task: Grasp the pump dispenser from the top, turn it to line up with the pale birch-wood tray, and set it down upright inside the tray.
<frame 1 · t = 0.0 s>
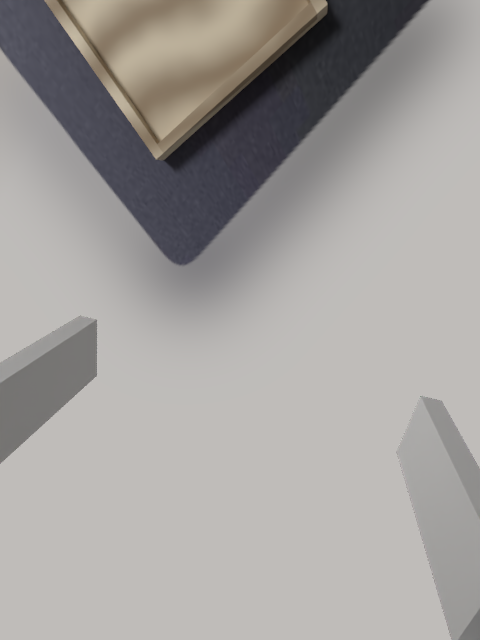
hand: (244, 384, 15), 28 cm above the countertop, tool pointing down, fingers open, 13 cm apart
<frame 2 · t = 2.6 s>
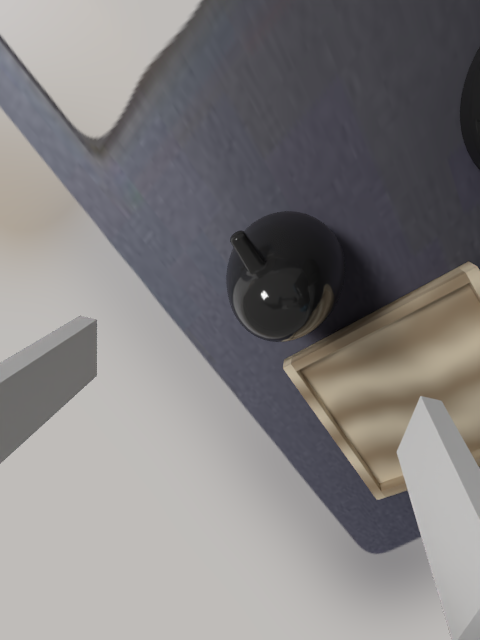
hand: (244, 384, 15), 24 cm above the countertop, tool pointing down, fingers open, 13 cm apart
birch tray: (414, 390, 39), on the countertop
pump dispenser: (288, 259, 36), on the countertop
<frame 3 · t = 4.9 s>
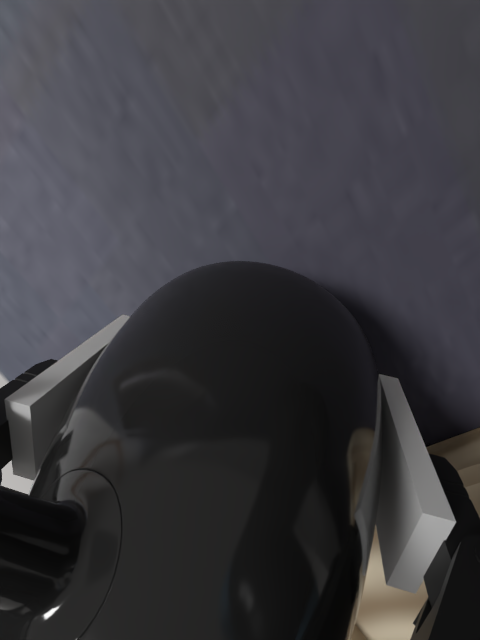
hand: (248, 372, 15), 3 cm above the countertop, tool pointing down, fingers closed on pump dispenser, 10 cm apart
pump dispenser: (257, 342, 18), on the countertop, touching gripper
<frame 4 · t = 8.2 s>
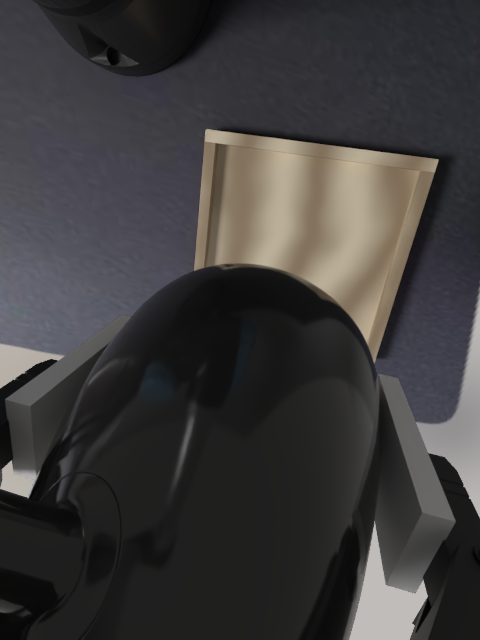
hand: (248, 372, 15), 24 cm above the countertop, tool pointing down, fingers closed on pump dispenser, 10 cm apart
birch tray: (296, 253, 37), on the countertop
pump dispenser: (256, 344, 18), point 21 cm above the countertop, touching gripper
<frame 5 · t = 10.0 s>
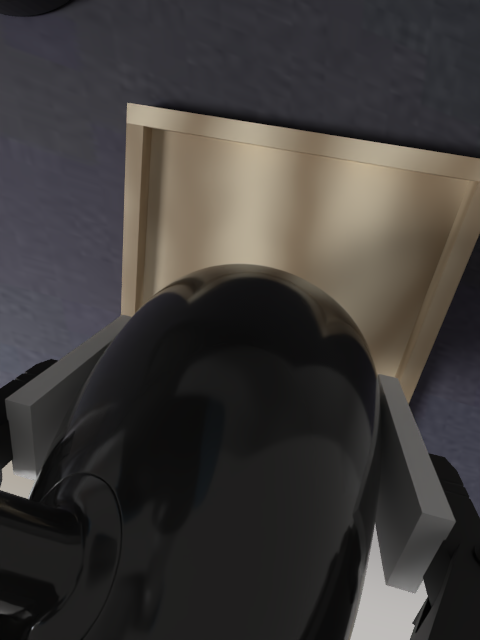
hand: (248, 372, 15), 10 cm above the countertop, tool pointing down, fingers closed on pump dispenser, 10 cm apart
birch tray: (273, 297, 25), on the countertop
pump dispenser: (256, 344, 18), point 7 cm above the countertop, touching gripper
when the fingers open (5 cm above the countertop, at t = 11.5 s): pump dispenser drops 2 cm, resting on birch tray.
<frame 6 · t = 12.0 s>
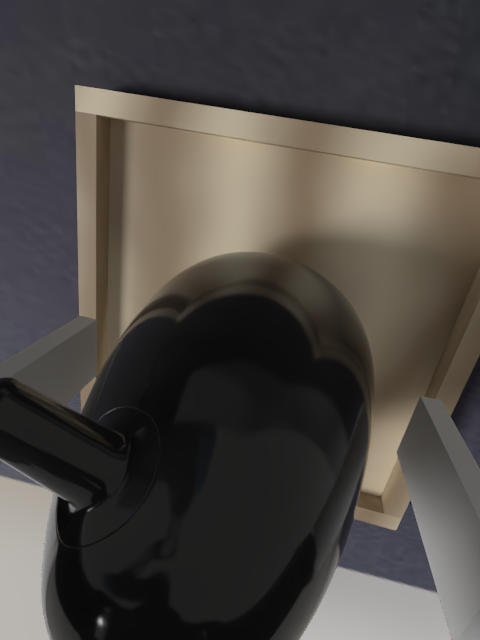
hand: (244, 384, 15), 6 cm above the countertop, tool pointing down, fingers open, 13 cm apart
birch tray: (264, 326, 20), on the countertop
pump dispenser: (261, 330, 20), point 1 cm above the countertop, touching birch tray
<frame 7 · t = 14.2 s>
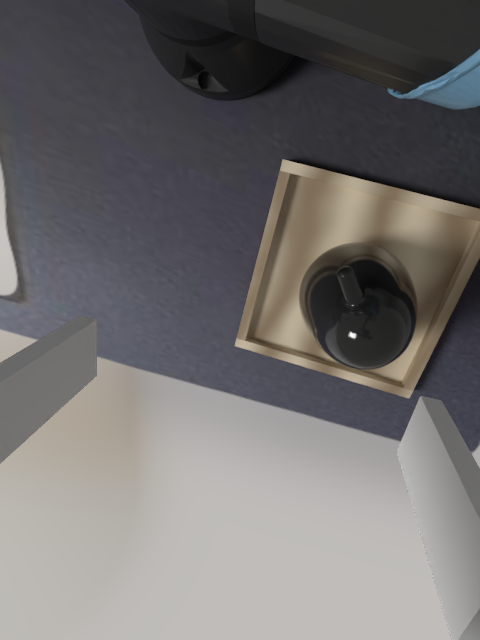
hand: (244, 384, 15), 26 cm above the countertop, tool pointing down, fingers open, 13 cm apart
birch tray: (349, 283, 39), on the countertop
pump dispenser: (349, 285, 38), point 1 cm above the countertop, touching birch tray
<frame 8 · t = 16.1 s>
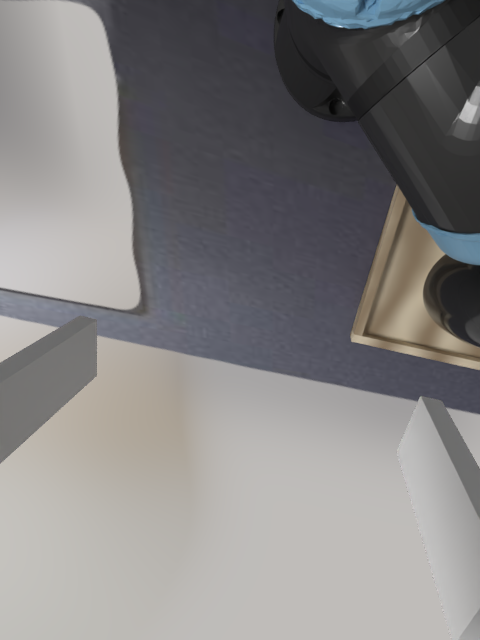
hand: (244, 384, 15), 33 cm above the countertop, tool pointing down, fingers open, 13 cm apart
birch tray: (460, 277, 42), on the countertop
pump dispenser: (461, 278, 42), point 1 cm above the countertop, touching birch tray
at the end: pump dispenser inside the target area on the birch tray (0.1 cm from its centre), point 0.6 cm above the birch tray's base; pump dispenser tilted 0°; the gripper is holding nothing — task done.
